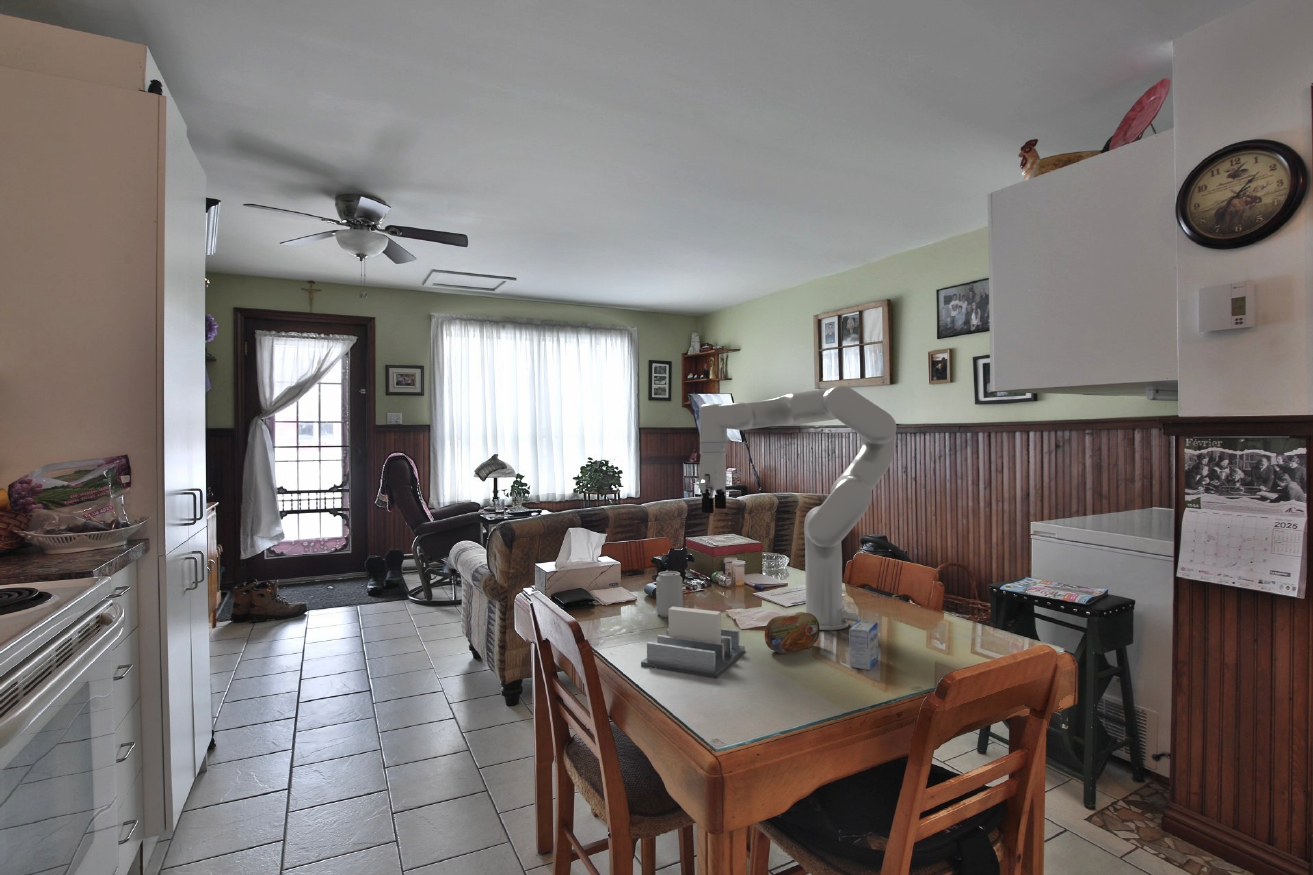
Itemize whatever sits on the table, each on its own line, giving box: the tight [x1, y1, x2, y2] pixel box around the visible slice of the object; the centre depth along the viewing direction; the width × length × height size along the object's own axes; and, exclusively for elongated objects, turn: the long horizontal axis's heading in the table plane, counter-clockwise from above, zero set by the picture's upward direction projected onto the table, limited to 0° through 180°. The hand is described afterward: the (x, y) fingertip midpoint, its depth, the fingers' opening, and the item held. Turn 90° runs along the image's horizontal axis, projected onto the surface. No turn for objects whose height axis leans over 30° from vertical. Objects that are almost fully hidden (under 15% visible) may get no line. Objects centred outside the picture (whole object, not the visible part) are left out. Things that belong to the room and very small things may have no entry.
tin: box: [764, 611, 821, 655], centre depth 155 cm, size 15×3×8 cm, turn 117°
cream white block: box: [667, 607, 722, 643], centre depth 150 cm, size 2×12×10 cm, turn 65°
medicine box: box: [848, 619, 879, 671], centre depth 145 cm, size 8×4×9 cm, turn 148°
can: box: [655, 570, 684, 618], centre depth 186 cm, size 8×8×12 cm
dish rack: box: [640, 627, 746, 680], centre depth 150 cm, size 18×19×5 cm
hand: (714, 510), depth 179 cm, fingers open, 9 cm apart
